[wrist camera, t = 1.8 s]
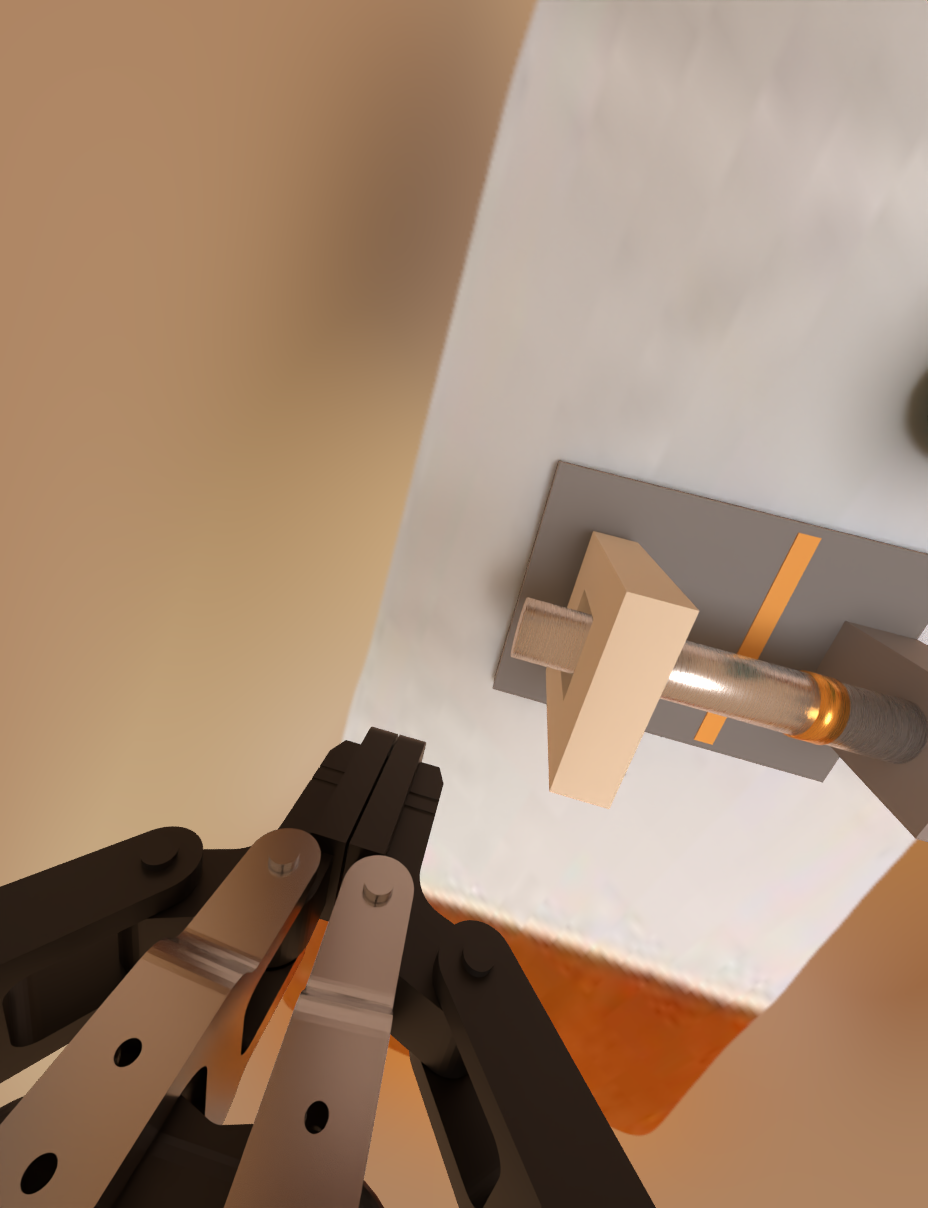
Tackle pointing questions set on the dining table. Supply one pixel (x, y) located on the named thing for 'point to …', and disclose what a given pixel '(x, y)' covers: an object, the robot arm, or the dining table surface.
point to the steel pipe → (747, 689)
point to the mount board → (752, 613)
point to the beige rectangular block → (613, 668)
